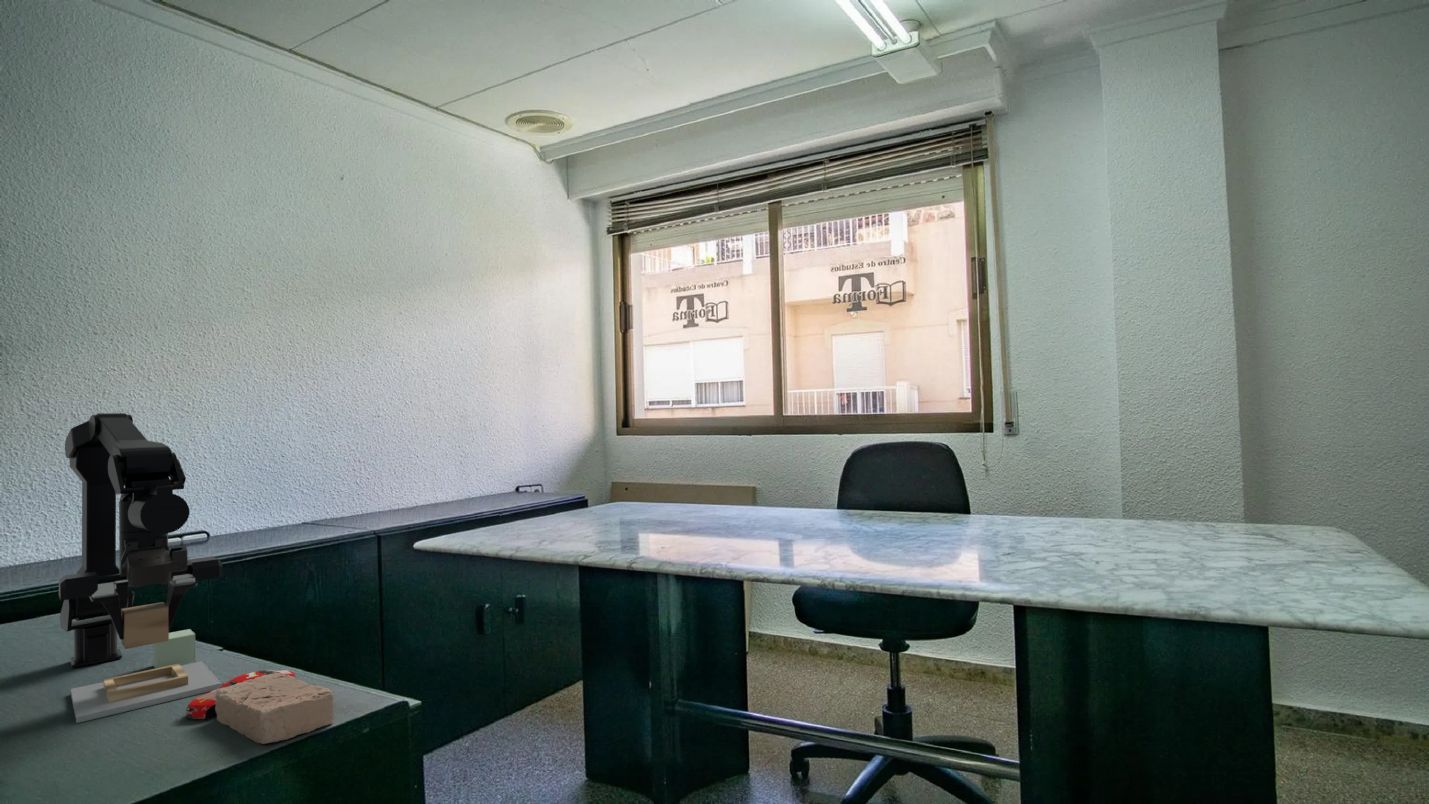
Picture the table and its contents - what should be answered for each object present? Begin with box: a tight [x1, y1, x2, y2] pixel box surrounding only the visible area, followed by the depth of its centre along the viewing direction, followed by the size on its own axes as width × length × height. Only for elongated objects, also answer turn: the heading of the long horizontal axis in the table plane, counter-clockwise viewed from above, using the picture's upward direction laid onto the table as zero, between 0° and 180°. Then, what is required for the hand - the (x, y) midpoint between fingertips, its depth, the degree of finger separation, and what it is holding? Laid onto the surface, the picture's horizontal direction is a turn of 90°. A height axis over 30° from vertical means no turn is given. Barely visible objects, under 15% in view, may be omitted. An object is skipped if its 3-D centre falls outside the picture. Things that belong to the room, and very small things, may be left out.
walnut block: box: [121, 601, 170, 650], centre depth 105 cm, size 5×5×5 cm
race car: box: [185, 669, 297, 721], centre depth 98 cm, size 13×5×4 cm, turn 141°
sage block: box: [152, 628, 197, 669], centre depth 118 cm, size 5×5×5 cm
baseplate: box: [70, 660, 222, 724], centre depth 105 cm, size 16×16×2 cm
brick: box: [215, 673, 335, 745], centre depth 92 cm, size 17×8×5 cm, turn 53°
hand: (145, 634), depth 105 cm, fingers closed on walnut block, 5 cm apart
